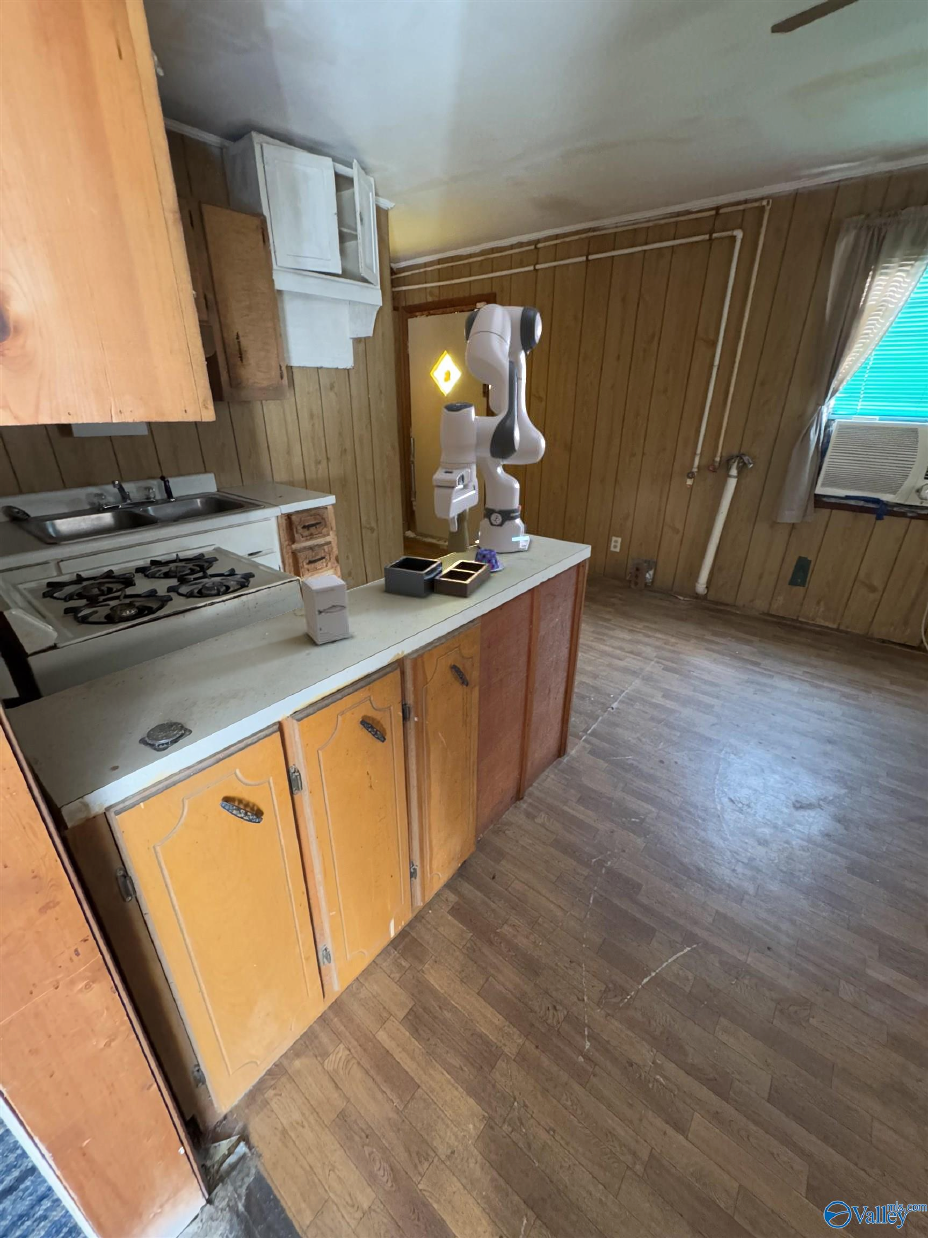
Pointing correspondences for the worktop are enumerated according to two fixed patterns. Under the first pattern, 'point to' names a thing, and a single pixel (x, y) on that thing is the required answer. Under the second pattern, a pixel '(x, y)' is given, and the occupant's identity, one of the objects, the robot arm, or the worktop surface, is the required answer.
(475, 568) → the divided tray
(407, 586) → the grey open box
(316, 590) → the white packaging box
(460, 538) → the cork
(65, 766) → the worktop surface
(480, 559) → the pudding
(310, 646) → the worktop surface
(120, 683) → the worktop surface
